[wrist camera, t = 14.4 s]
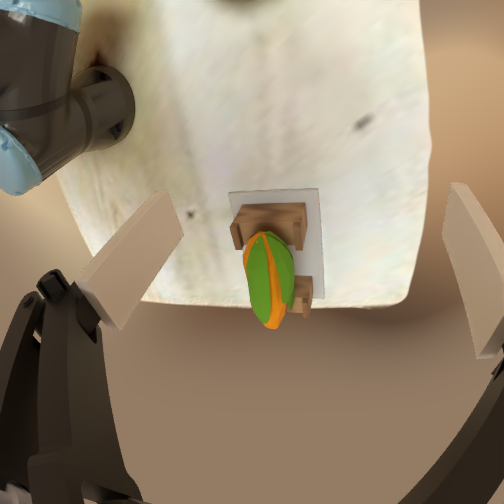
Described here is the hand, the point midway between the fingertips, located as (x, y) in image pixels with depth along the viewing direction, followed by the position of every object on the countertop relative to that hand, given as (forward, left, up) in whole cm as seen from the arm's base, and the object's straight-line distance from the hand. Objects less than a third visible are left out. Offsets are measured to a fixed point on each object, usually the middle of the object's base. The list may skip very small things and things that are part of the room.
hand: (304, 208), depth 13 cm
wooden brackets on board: (-10, -25, -29) cm, 39 cm away
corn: (-9, -25, -23) cm, 35 cm away
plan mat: (-10, -25, -29) cm, 39 cm away
